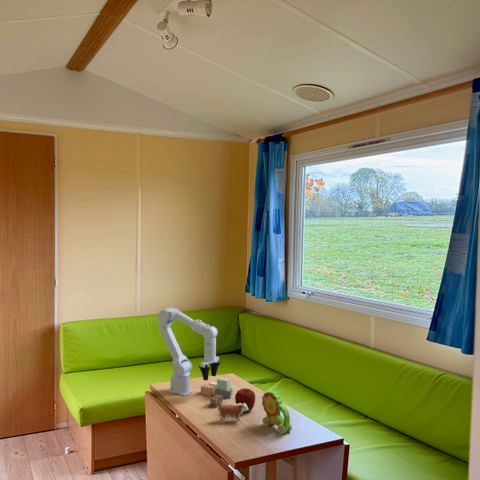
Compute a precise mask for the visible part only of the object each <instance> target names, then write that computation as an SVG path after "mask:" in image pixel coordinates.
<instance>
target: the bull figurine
mask: <svg viewBox="0 0 480 480" xmlns="http://www.w3.org/2000/svg"><path fill="white" fill-rule="evenodd" d="M217 410H218V413H219V416H220V417H219V418H220V419H221V420H222V421H223V420H224V422H226V423H229V421H228V419H227V417H226V415H227V416H228V417H231V416H235V420H234V422H236V423H238V422H239V421H241V417H240V416H241V415H242V414H243V413H244V412H243V411H248V410H249V409H248V407H247V405H246V403H243V404H241V403H239V404H236V403H235V404H222V405H220V406H218V407H217Z"/></svg>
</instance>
